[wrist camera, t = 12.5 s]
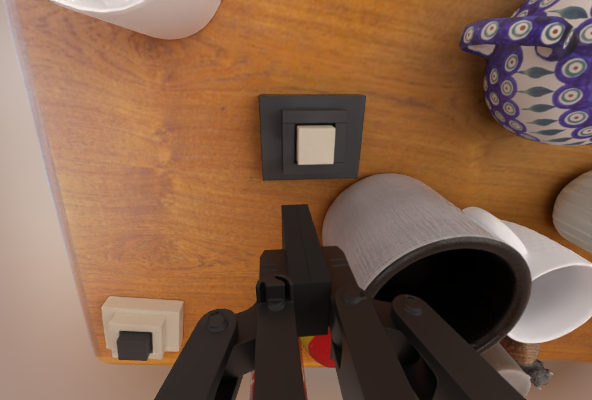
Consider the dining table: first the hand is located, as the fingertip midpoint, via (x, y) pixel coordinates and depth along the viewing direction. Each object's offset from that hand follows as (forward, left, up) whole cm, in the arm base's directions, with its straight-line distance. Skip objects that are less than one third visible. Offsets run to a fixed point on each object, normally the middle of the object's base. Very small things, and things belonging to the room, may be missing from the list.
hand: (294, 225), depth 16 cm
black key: (-8, -31, -14) cm, 35 cm away
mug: (+29, 0, -18) cm, 34 cm away
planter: (+16, -4, -18) cm, 24 cm away
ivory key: (+2, +3, -14) cm, 14 cm away
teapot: (+21, +20, -18) cm, 34 cm away
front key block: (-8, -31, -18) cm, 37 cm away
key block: (+2, +3, -18) cm, 18 cm away
